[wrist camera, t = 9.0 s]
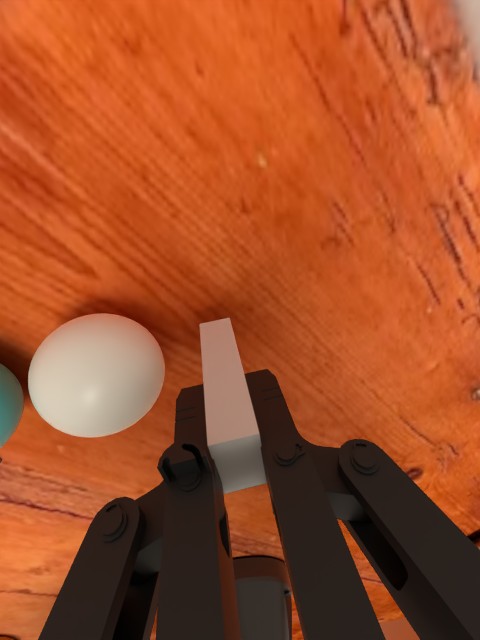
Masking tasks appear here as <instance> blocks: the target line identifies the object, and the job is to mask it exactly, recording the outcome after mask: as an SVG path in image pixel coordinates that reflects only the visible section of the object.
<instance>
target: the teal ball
mask: <svg viewBox="0 0 480 640" xmlns="http://www.w3.org/2000/svg"><path fill="white" fill-rule="evenodd" d="M23 409H24V395H23V391H22V387H21V385H20V383H19V381H18V379H17V378H16V377H15V375H14V374H13V373H12V372H11V371H10V370H9V369H8V368H6V367H5V366H4V365H2V364H0V448H1V447H3V445H4V444H5V443H6V442H7V441H8V440H9V439H10V437H11V436H12V434H13V433H14V432H15V430H16V428H17V426H18V425H19V422H20V420H21V417H22V413H23Z"/></svg>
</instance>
